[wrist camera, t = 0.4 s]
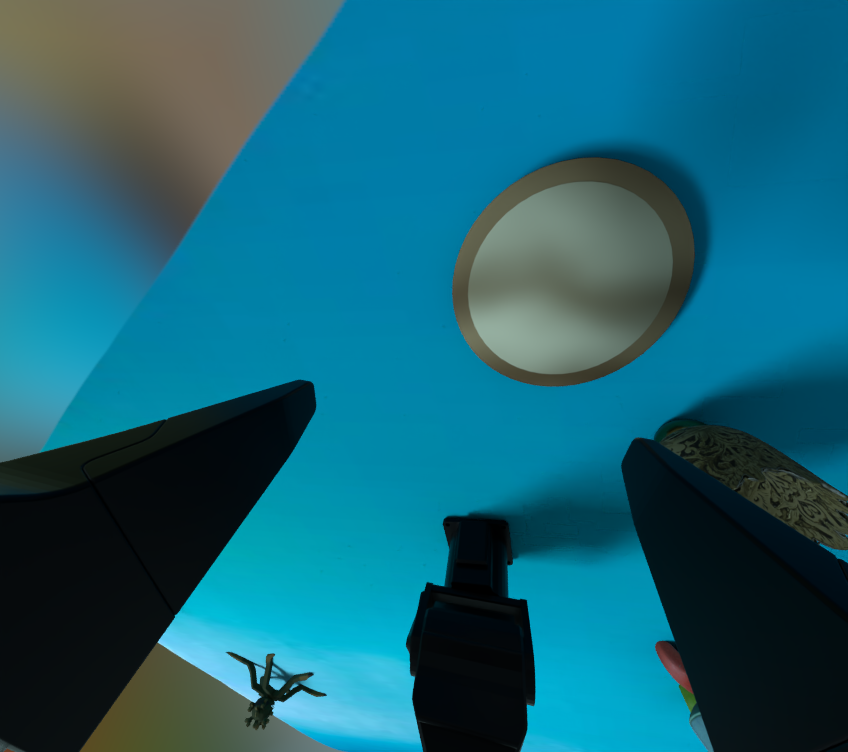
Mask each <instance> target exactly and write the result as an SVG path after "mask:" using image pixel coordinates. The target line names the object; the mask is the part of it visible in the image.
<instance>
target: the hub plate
mask: <svg viewBox="0 0 848 752" xmlns="http://www.w3.org/2000/svg"><path fill="white" fill-rule="evenodd" d="M694 257H695V252H694V238H693V233H692V229H691V224H690V221H689V219H688V217H687V214H686V212H685V209H684V207H683V206H682V204H681V203H680V201H679V200H678V198H677V197H676V195H675V194H674V193H673V191H672V190H671V189H670V188H669V187H668V186H667V185H666V184H665V183H664V182H663V181H661V180H660V179H659V178H657V177H656V176H654V175H653V174H652V173H650V172H649V171H647V170H644V169H642V168H640V167H638V166H636V165H634V164H631V163H627V162H624V161H620V160H616V159H608V158H599V157H596V158H578V159H572V160H567V161H561V162H558V163H555V164H552V165H549V166H546V167H543V168H541V169H539V170H537V171H534V172H532V173H530V174H528V175H526V176H524V177H523V178H521V179H520V180H518V181H517V182H515V183H514V184H512V185H510V186H509V187H508V188H507V189H506V190H504V191H503V192H502V193H501V194H499V195H498V196H497V197H496V198H495V199H494V200H493V201H492V202H491V203H490V204H489V205H488V206H487V207H486V208H485V209H484V211H483V212H482V213H481V215H480V216H479V217H478V219H477V220H476V221H475V223H474V224H473V226H472V227H471V229H470V231H469V233H468V234H467V236H466V238H465V240H464V243H463V245H462V247H461V249H460V252H459V255H458V258H457V262H456V265H455V271H454V277H453V291H452V295H453V306H454V311H455V315H456V320H457V322H458V325H459V328H460V330H461V332H462V334H463V336H464V338H465V340H466V342H467V343H468V345H469V346H470V347H471V349H472V350H473V351H474V353H475V354H476V355H477V356H478V357H479V358H480V359H481V360H482V361H483V362H485V363H486V364H487V365H488V366H490V367H491V368H492V369H494V370H496V371H497V372H499V373H500V374H502V375H505V376H507V377H509V378H511V379H514V380H517V381H520V382H523V383H527V384H532V385H539V386H568V385H576V384H580V383H585V382H589V381H592V380H595V379H598V378H601V377H604V376H606V375H608V374H610V373H613V372H615V371H617V370H619V369H620V368H622V367H624V366H626V365H627V364H629V363H631V362H632V361H633V360H635V359H636V358H637V357H639V356H640V355H642V354H643V353H644V352H645V351H646V350H647V349H649V348H650V347H651V346H652V345H653V344H654V343H655V342H656V341H657V340H658V339H659V338H660V336H661V335H662V334H663V333H664V332H665V331H666V329H667V328H668V327H669V325H670V324H671V323H672V321H673V320H674V318H675V317H676V315H677V313H678V311H679V309H680V308H681V306H682V304H683V302H684V299H685V297H686V294H687V292H688V289H689V286H690V282H691V278H692V274H693V267H694Z"/></svg>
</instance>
